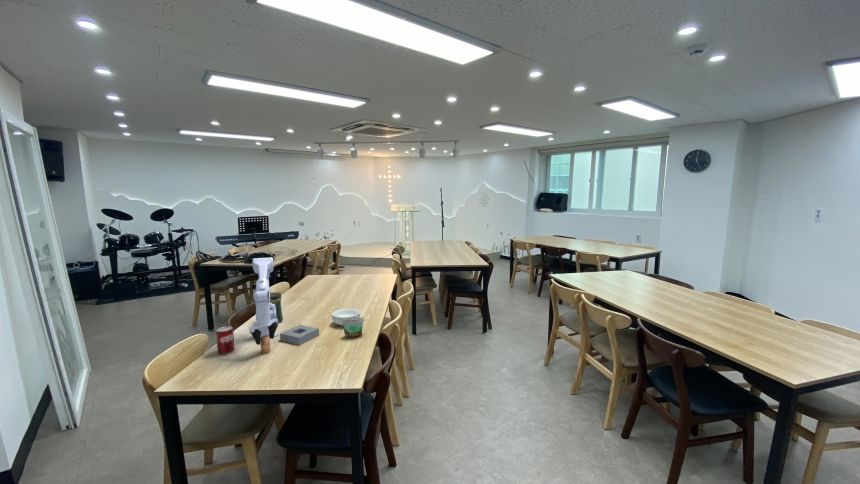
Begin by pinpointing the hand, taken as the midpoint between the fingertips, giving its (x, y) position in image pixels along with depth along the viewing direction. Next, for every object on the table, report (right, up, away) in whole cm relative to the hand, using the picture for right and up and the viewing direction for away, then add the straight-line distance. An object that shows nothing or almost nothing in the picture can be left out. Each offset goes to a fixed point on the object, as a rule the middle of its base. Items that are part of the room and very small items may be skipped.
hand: (265, 341), depth 161 cm
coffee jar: (-16, -1, +43) cm, 46 cm away
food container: (+39, -4, +20) cm, 44 cm away
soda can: (-20, -6, +1) cm, 21 cm away
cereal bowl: (+30, -2, +40) cm, 50 cm away
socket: (+10, -4, +18) cm, 21 cm away
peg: (0, -6, +1) cm, 6 cm away
